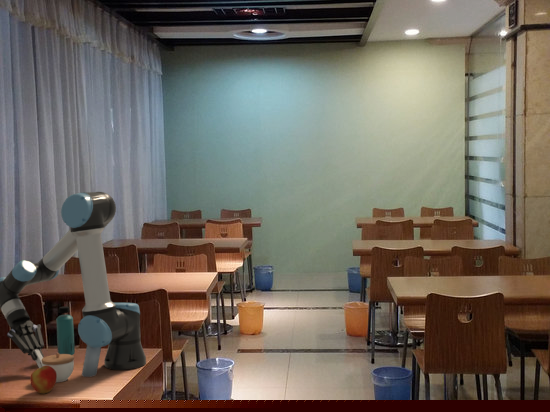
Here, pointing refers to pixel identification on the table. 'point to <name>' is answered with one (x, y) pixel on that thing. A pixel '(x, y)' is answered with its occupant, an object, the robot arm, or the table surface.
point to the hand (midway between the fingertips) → (42, 366)
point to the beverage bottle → (65, 332)
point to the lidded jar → (60, 365)
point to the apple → (43, 379)
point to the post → (91, 361)
